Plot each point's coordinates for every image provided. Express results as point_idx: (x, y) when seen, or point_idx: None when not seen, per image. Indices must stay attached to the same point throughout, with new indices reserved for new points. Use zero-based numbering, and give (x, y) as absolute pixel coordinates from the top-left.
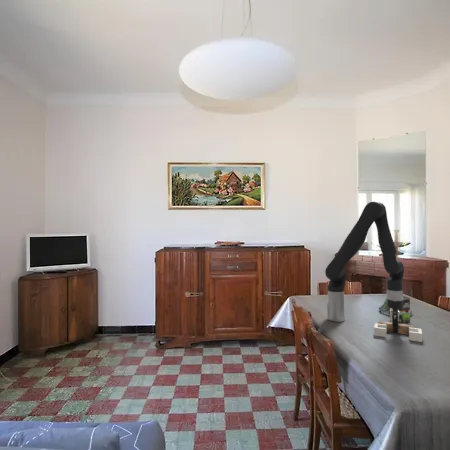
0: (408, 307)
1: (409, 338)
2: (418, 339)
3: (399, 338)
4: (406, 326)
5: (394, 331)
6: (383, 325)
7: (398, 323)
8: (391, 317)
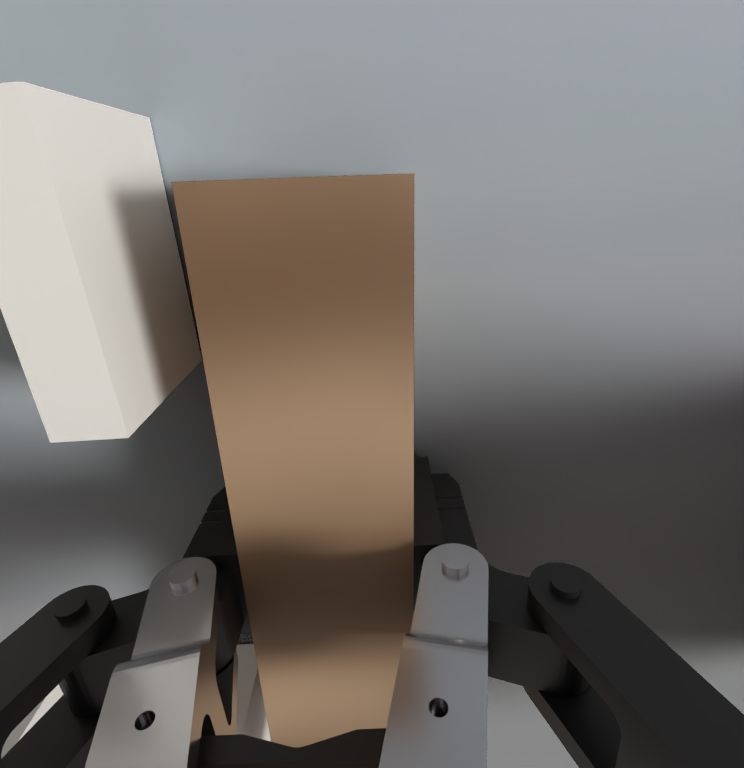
0: None
1: None
2: None
3: (13, 555)
4: None
5: (223, 498)
6: (34, 363)
7: None
8: (91, 752)
